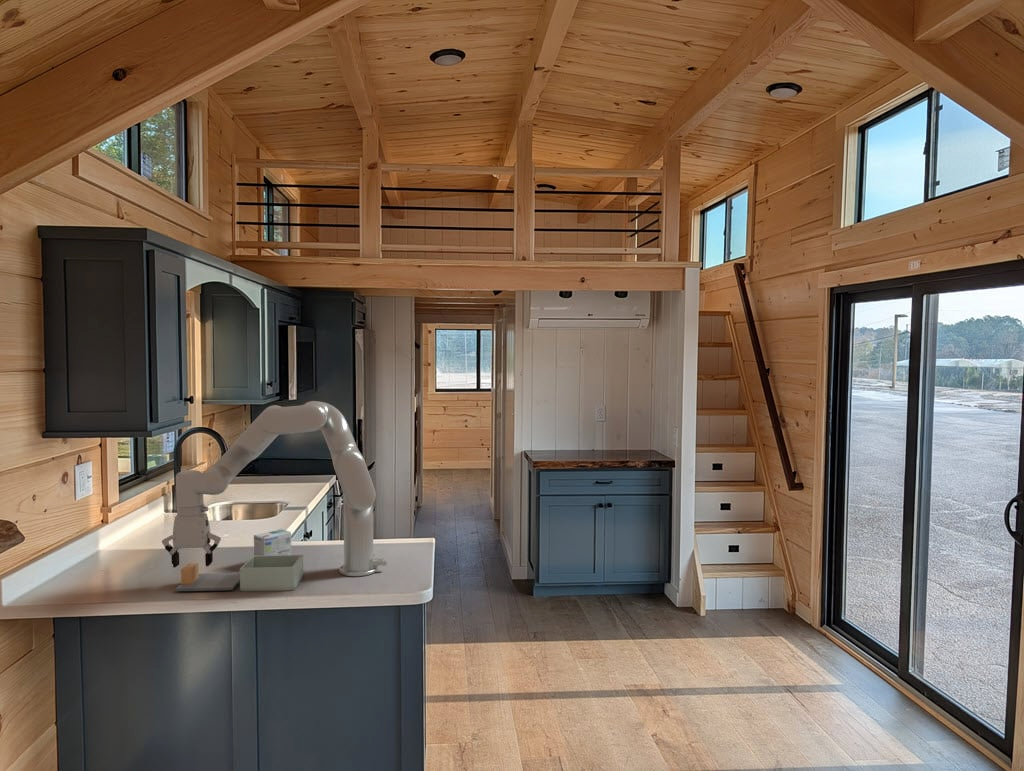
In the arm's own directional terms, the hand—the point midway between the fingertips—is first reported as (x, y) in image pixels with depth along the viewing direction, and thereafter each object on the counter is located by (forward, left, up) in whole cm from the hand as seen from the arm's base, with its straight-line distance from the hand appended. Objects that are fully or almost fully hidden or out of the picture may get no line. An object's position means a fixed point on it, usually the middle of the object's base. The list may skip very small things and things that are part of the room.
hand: (192, 565), depth 214 cm
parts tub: (-24, 0, -6) cm, 25 cm away
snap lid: (-6, 0, -7) cm, 9 cm away
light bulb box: (-19, -20, -6) cm, 28 cm away
